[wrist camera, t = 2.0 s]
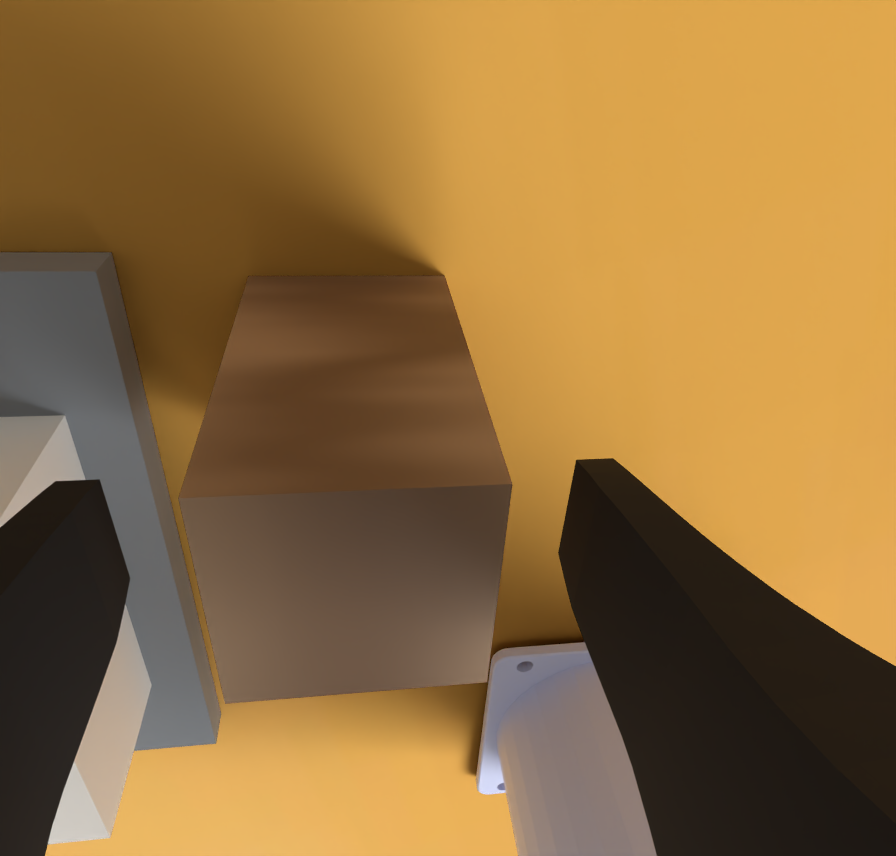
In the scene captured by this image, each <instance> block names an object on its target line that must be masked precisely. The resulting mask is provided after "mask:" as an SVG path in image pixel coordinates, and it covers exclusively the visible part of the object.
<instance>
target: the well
mask: <svg viewBox="0 0 896 856" xmlns="http://www.w3.org/2000/svg"><path fill="white" fill-rule="evenodd" d="M96 479H100V482H101V485H102V488H103V492H104V495H105V498H106V501H107V504H108V508H109V511H110V514H111V517H112V521H113V524H114V527H115V530H116V534H117V537H118V540H119V543H120V546H121V550H122V553H123V556H124V559H125V563H126V566H127V569H128V572H129V576H130V582H129V587H128V593H127V598H126V603H125V608H124V613H123V617H122V621H121V626H120V630H119V635H118V639H117V643H116V646H115V649H114V651H113V654H112V657H111V660H110V663H109V666H108V669H107V671H106V674H105V677H104V680H103V683H102V686H101V688H100V691H99V694H98V697H97V700H96V702H95V705H94V708H93V711H92V713H91V716H90V719H89V722H88V724H87V727H86V730H85V733H84V735H83V738H82V741H81V744H80V746H79V749H78V752H77V755H76V757H75V760H74V763H73V766H72V768H71V771H70V774H69V777H68V779H67V782H66V785H65V788H64V791H63V794H62V797H61V800H60V803H59V806H58V809H57V813H56V816H55V819H54V822H53V825H52V829H51V833H50V837H49V841H48V844H56V843H66V842H75V841H85V840H94V839H104V838H110V837H111V834H112V830H113V826H114V822H115V819H116V815H117V811H118V808H119V804H120V800H121V797H122V793H123V789H124V785H125V782H126V778H127V774H128V771H129V767H130V763H131V760H132V756H133V752H134V751H137V750H148V749H159V748H171V747H182V746H193V745H204V744H216V741H217V735H218V729H219V723H220V717H221V711H220V707H219V703H218V698H217V694H216V690H215V686H214V682H213V677H212V673H211V669H210V665H209V661H208V656H207V652H206V648H205V644H204V639H203V635H202V631H201V627H200V623H199V618H198V614H197V610H196V606H195V601H194V597H193V593H192V589H191V585H190V580H189V576H188V572H187V568H186V564H185V559H184V555H183V551H182V547H181V542H180V538H179V534H178V530H177V526H176V521H175V517H174V513H173V509H172V505H171V500H170V496H169V492H168V488H167V483H166V479H165V475H164V471H163V467H162V462H161V458H160V454H159V450H158V446H157V441H156V437H155V433H154V429H153V424H152V420H151V416H150V412H149V408H148V403H147V399H146V395H145V391H144V387H143V382H142V378H141V374H140V370H139V365H138V361H137V357H136V353H135V349H134V344H133V340H132V336H131V332H130V327H129V323H128V319H127V315H126V311H125V306H124V302H123V298H122V294H121V290H120V285H119V281H118V277H117V273H116V268H115V264H114V260H113V256H112V252H0V527H1V526H3V525H4V524H5V523H6V522H7V521H8V520H9V519H11V518H12V517H13V516H14V515H15V514H16V513H18V512H19V511H20V510H21V509H22V508H23V507H25V506H26V505H27V504H28V503H29V502H30V501H32V500H33V499H34V498H35V497H36V496H38V495H39V494H40V493H41V492H42V491H44V490H45V489H46V488H47V487H49V486H50V485H51V484H52V483H54V482H55V481H72V480H96Z"/></svg>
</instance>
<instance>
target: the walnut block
mask: <svg viewBox="0 0 896 856" xmlns="http://www.w3.org/2000/svg"><path fill="white" fill-rule="evenodd" d="M511 490H512V482H511V479H510V475H509V472H508V469H507V466H506V463H505V460H504V457H503V454H502V451H501V448H500V445H499V442H498V439H497V435H496V432H495V429H494V426H493V423H492V420H491V417H490V414H489V411H488V408H487V405H486V402H485V399H484V395H483V392H482V389H481V386H480V383H479V380H478V377H477V374H476V371H475V368H474V365H473V362H472V359H471V355H470V352H469V349H468V346H467V343H466V340H465V337H464V334H463V331H462V328H461V325H460V322H459V319H458V315H457V312H456V309H455V306H454V303H453V300H452V297H451V294H450V291H449V288H448V285H447V282H446V279H445V276H248V279H247V282H246V286H245V289H244V292H243V295H242V298H241V301H240V305H239V308H238V311H237V314H236V317H235V320H234V324H233V327H232V330H231V333H230V336H229V339H228V343H227V346H226V349H225V352H224V355H223V358H222V362H221V365H220V368H219V371H218V374H217V377H216V381H215V384H214V387H213V390H212V393H211V396H210V400H209V403H208V406H207V409H206V412H205V415H204V419H203V422H202V425H201V428H200V431H199V434H198V438H197V441H196V444H195V447H194V450H193V453H192V457H191V460H190V463H189V466H188V469H187V472H186V476H185V479H184V482H183V485H182V488H181V491H180V495H179V498H178V499H179V503H180V508H181V512H182V517H183V521H184V525H185V530H186V534H187V538H188V543H189V547H190V552H191V556H192V560H193V565H194V569H195V574H196V578H197V582H198V587H199V591H200V596H201V600H202V604H203V609H204V613H205V617H206V622H207V626H208V631H209V635H210V639H211V644H212V648H213V653H214V657H215V661H216V666H217V670H218V674H219V679H220V683H221V688H222V692H223V696H224V701H225V704H227V703H239V702H251V701H264V700H276V699H288V698H300V697H313V696H325V695H337V694H349V693H362V692H374V691H386V690H398V689H411V688H423V687H435V686H447V685H460V684H472V683H484V682H487V678H488V670H489V662H490V654H491V647H492V639H493V631H494V623H495V615H496V607H497V600H498V592H499V584H500V576H501V568H502V560H503V553H504V545H505V537H506V529H507V521H508V514H509V506H510V498H511Z"/></svg>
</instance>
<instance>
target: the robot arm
mask: <svg viewBox="0 0 896 856" xmlns="http://www.w3.org/2000/svg"><path fill="white" fill-rule="evenodd" d="M558 553H559V558H560V562H561V566H562V570H563V575H564V579H565V583H566V587H567V591H568V595H569V599H570V602H571V606H572V610H573V612H574V615H575V618H576V621H577V623H578V626H579V628H580V631H581V634H582V636H583V639H584V641H585V642H579V643H566V644H553V645H540V646H526V647H513V648H505V649H502V650H499V651H498V652H496V653H495V654H494V655H493V657H492V659H491V666H490V674H489V682H488V690H487V697H486V705H485V713H484V720H483V728H482V736H481V744H480V751H479V759H478V767H477V774H476V784H477V790H478V791H479V792H480V793H482V794H497V793H506V796H507V801H508V806H509V811H510V817H511V822H512V827H513V832H514V837H515V842H516V847H517V852H518V856H896V666H894V665H892V664H891V663H889V662H887V661H885V660H884V659H882V658H880V657H878V656H876V655H875V654H873V653H871V652H870V651H868V650H866V649H865V648H863V647H861V646H860V645H858V644H856V643H855V642H853V641H851V640H850V639H848V638H846V637H845V636H843V635H841V634H840V633H838V632H837V631H835V630H834V629H832V628H831V627H829V626H828V625H826V624H824V623H823V622H821V621H820V620H818V619H817V618H815V617H814V616H812V615H811V614H809V613H808V612H806V611H804V610H803V609H801V608H800V607H798V606H797V605H795V604H794V603H792V602H791V601H789V600H788V599H787V598H785V597H784V596H782V595H781V594H779V593H778V592H777V591H775V590H774V589H772V588H771V587H770V586H768V585H767V584H766V583H764V582H763V581H762V580H760V579H759V578H758V577H756V576H755V575H754V574H752V573H751V572H750V571H748V570H747V569H745V568H744V567H743V566H741V565H740V564H739V563H737V562H736V561H735V560H734V559H732V558H731V557H730V556H728V555H727V554H726V553H725V552H723V551H722V550H721V549H720V548H718V547H717V546H716V545H715V544H713V543H712V542H711V541H710V540H708V539H707V538H706V537H705V536H704V535H702V534H701V533H700V532H699V531H697V530H696V529H695V528H694V527H693V526H691V525H690V524H689V523H688V522H687V521H686V520H684V519H683V518H682V517H681V516H680V515H678V514H677V513H676V512H675V511H674V510H673V509H671V508H670V507H669V506H668V505H667V504H666V503H665V502H663V501H662V500H661V499H660V498H659V497H658V496H656V495H655V494H654V493H653V492H652V491H651V490H650V489H648V488H647V487H646V486H645V485H644V484H643V483H642V482H640V481H639V480H638V479H637V478H636V477H635V476H633V475H632V474H631V473H630V472H629V471H628V470H626V469H625V468H624V467H623V466H622V465H620V464H619V463H618V462H617V461H615V460H614V459H613V458H612V459H587V460H576V464H575V469H574V474H573V480H572V485H571V490H570V495H569V500H568V505H567V511H566V516H565V521H564V526H563V531H562V537H561V542H560V547H559V552H558ZM129 582H130V576H129V572H128V569H127V566H126V563H125V559H124V556H123V553H122V550H121V546H120V543H119V540H118V537H117V534H116V530H115V527H114V524H113V521H112V517H111V514H110V511H109V508H108V504H107V501H106V498H105V495H104V492H103V488H102V485H101V482H100V479H96V480H72V481H55V482H54V483H52V484H51V485H50V486H49V487H47V488H46V489H45V490H44V491H42V492H41V493H40V494H39V495H38V496H36V497H35V498H34V499H33V500H32V501H30V502H29V503H28V504H27V505H26V506H25V507H23V508H22V509H21V510H20V511H19V512H18V513H16V514H15V515H14V516H13V517H12V518H11V519H9V520H8V521H7V522H6V523H5V524H4V525H3V526H1V527H0V856H45V853H46V849H47V845H48V841H49V837H50V833H51V829H52V825H53V822H54V819H55V816H56V813H57V809H58V806H59V803H60V800H61V797H62V794H63V791H64V788H65V785H66V782H67V779H68V777H69V774H70V771H71V768H72V766H73V763H74V760H75V757H76V755H77V752H78V749H79V746H80V744H81V741H82V738H83V735H84V733H85V730H86V727H87V724H88V722H89V719H90V716H91V713H92V711H93V708H94V705H95V702H96V700H97V697H98V694H99V691H100V688H101V686H102V683H103V680H104V677H105V674H106V671H107V669H108V666H109V663H110V660H111V657H112V654H113V651H114V649H115V646H116V643H117V639H118V635H119V630H120V626H121V621H122V617H123V613H124V608H125V603H126V598H127V593H128V587H129Z"/></svg>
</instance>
